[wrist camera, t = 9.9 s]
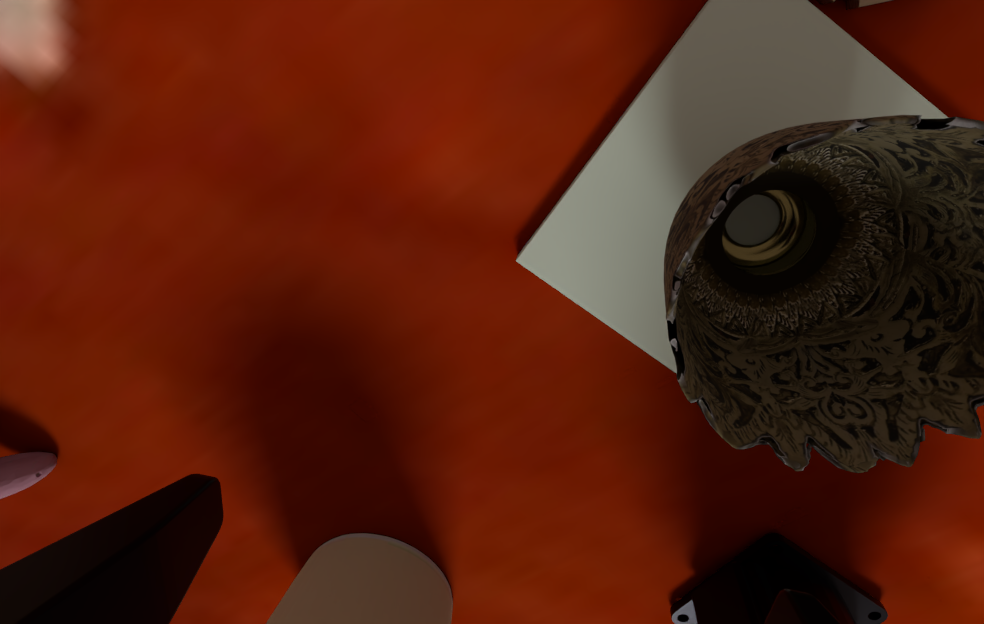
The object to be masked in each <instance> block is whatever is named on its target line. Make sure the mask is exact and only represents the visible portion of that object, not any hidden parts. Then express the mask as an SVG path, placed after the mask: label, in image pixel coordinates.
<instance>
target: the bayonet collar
mask: <svg viewBox="0 0 984 624" xmlns="http://www.w3.org/2000/svg"><path fill="white" fill-rule="evenodd" d="M817 1H818V2H820V3H821V4H822V5H823V4H827V3H831V2H834V1H835V0H817ZM887 1H892V0H847V2H846V10H848V9H853V8H858V7H863V6H868V5H873V4H877V3H882V2H887Z"/></svg>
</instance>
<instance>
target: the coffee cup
mask: <svg viewBox="0 0 984 624" xmlns="http://www.w3.org/2000/svg"><path fill="white" fill-rule="evenodd" d="M452 609H453V600H452V594H451V589H450V586H449V583H448V581H447V579H446V578H445V576H444V574H443V573H442V571H441V570H440V569H439V568H438V566H437V565H436V564H435V563H434V562H433V561H432V560H431V559H430V558H429V557H427V556H426V555H424V554H423V553H422V552H420V551H419V550H417V549H416V548H414V547H412V546H410V545H409V544H406V543H404V542H402V541H399V540H396V539H393V538H391V537H387V536H382V535H376V534H368V533H355V534H347V535H342V536H339V537H336V538H333V539H331V540H329V541H327V542H326V543H324V544H322V545H321V546H320V547H319V548H318V549H317V550H316V551H315V552H314V553H313V554H312V555H311V557H310V558H309V559H308V561H307V562H306V564H305V565H304V567H303V568H302V569H301V571H300V572H299V574H298V575H297V577H296V578H295V580H294V581H293V583H292V584H291V586H290V587H289V589H288V590H287V592H286V593H285V595H284V597H283V598H282V600H281V601H280V603H279V604H278V606H277V607H276V609H275V610H274V612H273V614H272V615H271V617H270V618H269V620H268V621H267V623H266V624H451V618H452Z"/></svg>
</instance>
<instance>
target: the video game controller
mask: <svg viewBox="0 0 984 624" xmlns="http://www.w3.org/2000/svg"><path fill="white" fill-rule="evenodd" d="M56 464H57V458H56V456H55V455H54V454H53V453H46V452H28V453H20V454H15V455H10V456H5V457H1V458H0V499H1V498H4V497H7V496H9V495H12V494H14V493H17V492H19V491H21V490H24V489H26V488H28V487H30V486H32V485H33V484H35V483H36V482H38V481H39V480H41V479H42V478H44V477H45V476H46V475H48V474H49V473H50V472H51V471H52V470H53V468H54V467H55V466H56Z"/></svg>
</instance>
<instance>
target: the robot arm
mask: <svg viewBox="0 0 984 624" xmlns="http://www.w3.org/2000/svg"><path fill="white" fill-rule="evenodd" d="M222 522H223V505H222V495H221V486H220V482H219V480H218V479H217V478H215V477H211V476H206V475H201V474H191V475H188V476H186V477H184V478H182V479H180V480H178V481H176V482H174V483H172V484H170V485H168V486H166V487H164V488H162V489H160V490H158V491H156V492H154V493H152V494H150V495H148V496H146V497H144V498H142V499H140V500H138V501H136V502H134V503H132V504H130V505H128V506H126V507H124V508H122V509H120V510H118V511H116V512H114V513H112V514H110V515H108V516H106V517H104V518H102V519H100V520H98V521H96V522H94V523H92V524H90V525H88V526H86V527H84V528H82V529H80V530H78V531H76V532H74V533H72V534H70V535H68V536H66V537H64V538H62V539H60V540H58V541H56V542H54V543H52V544H50V545H48V546H46V547H44V548H42V549H40V550H38V551H36V552H34V553H32V554H30V555H28V556H27V557H25V558H23V559H21V560H19V561H17V562H15V563H13V564H11V565H9V566H7V567H5V568H3V569H1V570H0V624H169V623H170V621H171V619H172V618H173V616H174V614H175V612H176V611H177V609H178V607H179V605H180V604H181V602H182V600H183V598H184V596H185V594H186V592H187V590H188V589H189V587H190V585H191V583H192V581H193V579H194V577H195V575H196V574H197V572H198V570H199V568H200V566H201V564H202V562H203V560H204V559H205V557H206V555H207V553H208V551H209V549H210V547H211V545H212V544H213V542H214V540H215V538H216V536H217V534H218V532H219V530H220V528H221V525H222ZM773 545H777V546H775V547H771V546H773ZM670 612H671V618H672V621H673V622H674V623H675V624H880V623H882V622H884V621H885V620H886V619H887V616H888V614H887V611H886V610H885V608H884V606H883V604H882V603H881V602H880V601H878V600H877V599H875V598H874V597H872V596H871V595H869V594H868V593H866V592H865V591H863V590H862V589H860V588H859V587H858V586H856V585H855V584H853V583H852V582H850V581H849V580H847V579H846V578H844V577H843V576H841V575H840V574H838V573H837V572H835V571H834V570H832V569H831V568H829V567H828V566H826V565H825V564H823V563H822V562H820V561H819V560H818V559H816V558H815V557H813V556H812V555H810V554H809V553H807V552H806V551H804V550H803V549H801V548H800V547H798V546H797V545H795V544H794V543H792V542H791V541H789V540H788V539H786V538H785V537H783V536H782V535H780V534H777V533H771V534H767V535H765V536H763V537H762V538H761V539H759V540H758V541H757V542H755V543H754V544H753V545H751V546H750V547H749V548H747V549H746V550H745V551H743V552H742V553H741V554H740V555H738V556H737V557H736V558H734V559H733V560H732V561H730V562H729V563H728V564H726V565H725V566H724V567H722V568H721V569H720V570H718V571H717V572H716V573H715V574H713V575H712V576H711V577H709V578H708V579H707V580H705V581H704V582H703V583H701V584H700V585H699V586H697V587H696V588H695V589H693V590H692V591H691V592H690V593H688V594H687V595H686V596H684V597H683V598H682V599H680V600H679V601H678V602H676V603H675V604H674V605H673V606H672V607H671V609H670Z"/></svg>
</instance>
